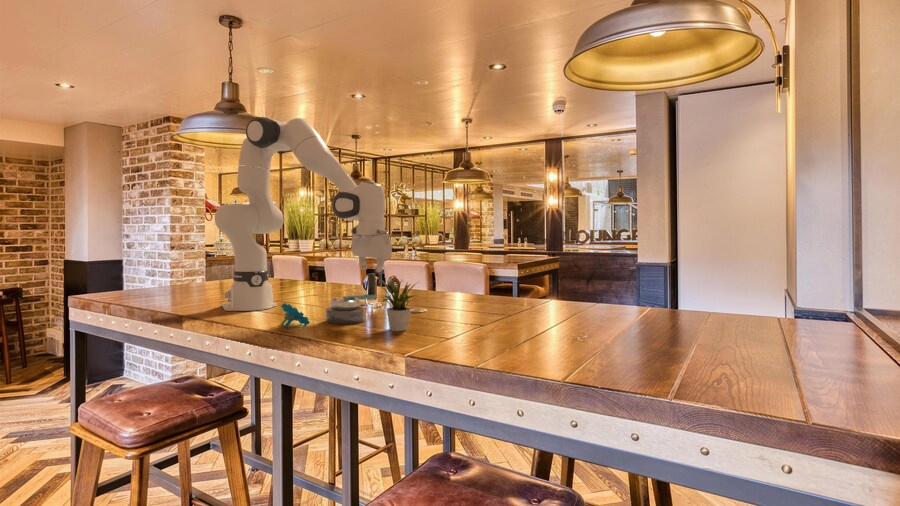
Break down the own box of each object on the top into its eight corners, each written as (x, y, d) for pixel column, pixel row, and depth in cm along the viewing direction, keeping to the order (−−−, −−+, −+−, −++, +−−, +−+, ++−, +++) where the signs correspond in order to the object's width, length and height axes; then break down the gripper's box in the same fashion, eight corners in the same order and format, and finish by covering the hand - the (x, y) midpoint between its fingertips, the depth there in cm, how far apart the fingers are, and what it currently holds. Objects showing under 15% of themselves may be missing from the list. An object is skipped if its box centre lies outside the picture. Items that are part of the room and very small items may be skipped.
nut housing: (319, 320, 159) (319, 307, 159) (352, 316, 167) (352, 303, 167) (336, 326, 150) (336, 312, 150) (370, 321, 158) (370, 308, 158)
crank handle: (339, 311, 152) (339, 277, 152) (325, 307, 159) (325, 275, 158) (382, 306, 162) (382, 274, 162) (367, 303, 169) (367, 272, 169)
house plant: (360, 331, 142) (360, 276, 141) (384, 323, 155) (384, 272, 154) (404, 336, 137) (404, 278, 136) (425, 327, 150) (425, 274, 149)
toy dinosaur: (316, 322, 148) (291, 300, 144) (303, 337, 145) (278, 316, 141) (301, 321, 157) (278, 301, 153) (289, 336, 154) (265, 316, 150)
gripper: (396, 230, 158) (396, 273, 159) (364, 229, 174) (364, 268, 174) (380, 230, 154) (379, 274, 155) (348, 229, 169) (348, 268, 170)
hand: (371, 270), depth 165 cm, fingers open, 8 cm apart
